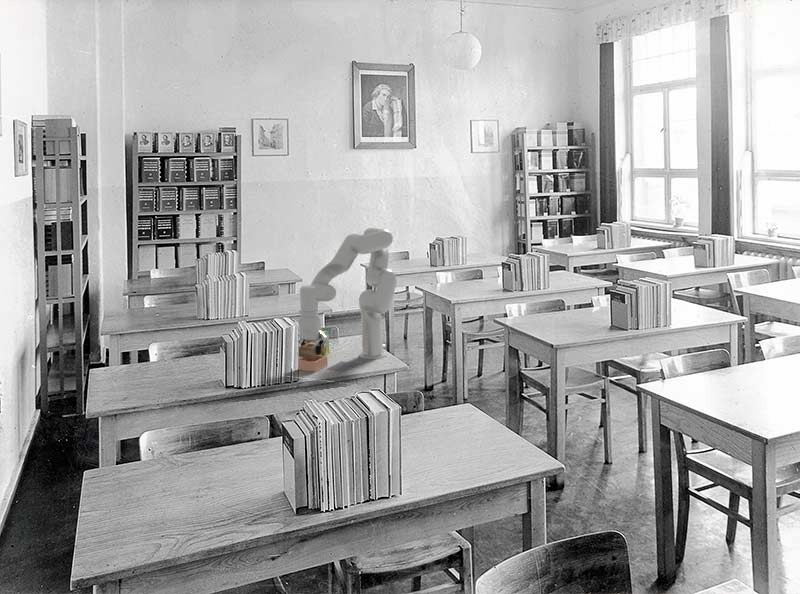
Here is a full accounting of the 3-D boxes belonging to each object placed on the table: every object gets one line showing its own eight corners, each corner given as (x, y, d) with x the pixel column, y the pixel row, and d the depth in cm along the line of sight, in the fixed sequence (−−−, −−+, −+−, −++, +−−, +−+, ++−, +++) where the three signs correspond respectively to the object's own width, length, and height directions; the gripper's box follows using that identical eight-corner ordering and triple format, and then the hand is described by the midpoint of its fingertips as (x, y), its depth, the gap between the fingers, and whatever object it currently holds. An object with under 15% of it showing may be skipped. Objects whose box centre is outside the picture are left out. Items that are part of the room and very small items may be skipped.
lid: (310, 350, 331) (310, 340, 330) (324, 352, 328) (324, 341, 327) (297, 356, 321) (297, 345, 320) (311, 358, 318) (310, 347, 317)
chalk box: (324, 358, 342) (323, 327, 340) (305, 358, 344) (304, 327, 341) (330, 353, 351) (329, 323, 348) (311, 353, 353) (310, 323, 350)
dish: (308, 364, 333) (308, 354, 332) (327, 367, 328) (327, 356, 328) (296, 370, 324) (296, 359, 323) (316, 373, 320) (315, 362, 319)
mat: (341, 362, 336) (341, 361, 336) (360, 364, 331) (360, 363, 331) (325, 370, 323) (325, 369, 323) (345, 372, 319) (345, 371, 319)
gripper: (288, 314, 322) (289, 353, 325) (322, 316, 314) (323, 357, 318) (297, 310, 328) (299, 349, 332) (331, 313, 321) (332, 353, 324)
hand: (311, 352), depth 325 cm, fingers closed on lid, 7 cm apart
